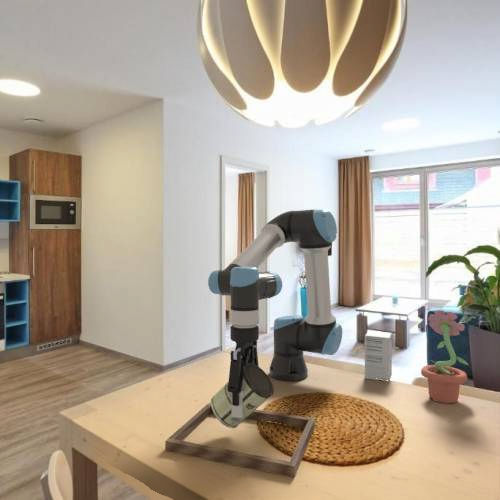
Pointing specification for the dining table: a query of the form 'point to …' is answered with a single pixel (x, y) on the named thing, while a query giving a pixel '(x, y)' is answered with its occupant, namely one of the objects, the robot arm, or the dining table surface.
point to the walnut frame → (240, 458)
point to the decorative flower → (441, 375)
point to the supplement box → (378, 355)
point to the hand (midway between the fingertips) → (244, 408)
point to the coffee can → (254, 394)
